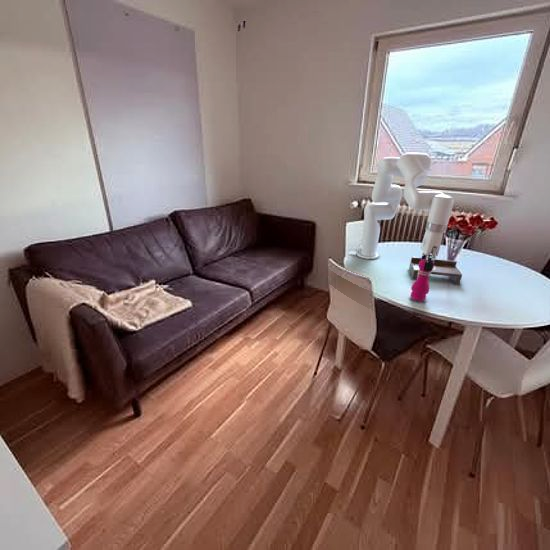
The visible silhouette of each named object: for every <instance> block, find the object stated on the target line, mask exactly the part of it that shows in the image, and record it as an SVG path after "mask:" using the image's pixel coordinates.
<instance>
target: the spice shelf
mask: <svg viewBox="0 0 550 550" xmlns="http://www.w3.org/2000/svg"><path fill="white" fill-rule="evenodd" d="M421 258H422V257H419V256H411V258H410V263H409V267H408V272H409V274H410V277H411V280H413V281H416V280H417V278H418V275H419V273H418V271H419V269H420V268H419V262H420V261H421ZM457 263H458V261H457V260H450V259H449V260H448V259H439V258H436V259H435V261H434V268H433V270H432V271H431V274H430V275H434V276H443V277H444V276H445V277H450V279H451V281H452V282H453V284H454V285H460V284H461V281H462V278H463V273H462V272H461V271H460V269H459V268H458V267H457Z"/></svg>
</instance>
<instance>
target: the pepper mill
mask: <svg viewBox="0 0 550 550" xmlns="http://www.w3.org/2000/svg"><path fill="white" fill-rule="evenodd" d="M429 258H431V256H430V257H429ZM426 260H427V257H426V259H423V260H421V261H420V262H419V268H420V269H419V271H418V276H417V280H414V282H413V283H412V284H411V287H410V289H411V291H410V298H411V299H412V300H414V301H418V302H424V301H425V300H426V299H427V294H429V292H430V285H429V277H430V276H431V275H432V274H431V271H424V270H423V269H424V265H425V261H426ZM433 268H434V264H433ZM433 268H432V270H433Z"/></svg>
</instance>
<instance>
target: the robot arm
mask: <svg viewBox="0 0 550 550" xmlns="http://www.w3.org/2000/svg"><path fill="white" fill-rule="evenodd" d="M431 166H432V158H431V156H429V154H427V153H424V152H406V153H403V154H402V155H400V156H399V157H397V156H396V157H395V156H391V157H390V156H387V157H383V158H381V159H380V160H379V162H378V163H377V168H376V169H377V170H376V172H377V173H376V178H375V182H374V185H373V188H372V193H371V200H372V202H370V203H368V204H366V205H364V208H363V228H362V234H361V240H360V241H361V242H360V246H358V247H352V250H351V251H354V252H356V255H357V256H358V257H359V258H362V259H365V260H375V259H378V258H379V257H380V256H379V253H378V252H377V250H378V245H379V240H380V233H381V225H380V223H379V221H390V220H393V219H394V217H395V216H396V213H397V212H398V211H397V210H399V209H398V208H399V207H400V206H399V205H400V204H401V201H402V198H404V200H405V201H406V203H407V205H408V207H409V208H410V209H411V210H414V211H428V216H427V219H426V220H427V221H426V225H425V228H424V230H425V232H424V235H423V239H422V242H421V245H420V250H421V251H422V255H421V257H420V258H421V260H423V259H426V257H427V260H426V261H425V265H424V269H423V270H424V271H432V268H433V264H434V261H435V259H437V256H438V255H439V253H440V250H441V246H442V241H443V235H444V233H445V234H446V232H447V229H448V225H449V221H450V218H451V215H452V211H453V207H454V204H455V198H454V197H453V196H451V195H448V194H445V193H444V192H442V191H437V190H436V191H434V190H432V191H431V190H418V189H417V188H418V187H419V186H421V185H423V184H424V183H425V182H426V180H427V178H428V171H429V170H430V169H431ZM394 176H401V177H403V178H404V180H405V182H406V183H405V184H404V188H402V187H401V186H400V185H397V184H393V183H394ZM402 189H403V190H402ZM429 257H430V258H429Z"/></svg>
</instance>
